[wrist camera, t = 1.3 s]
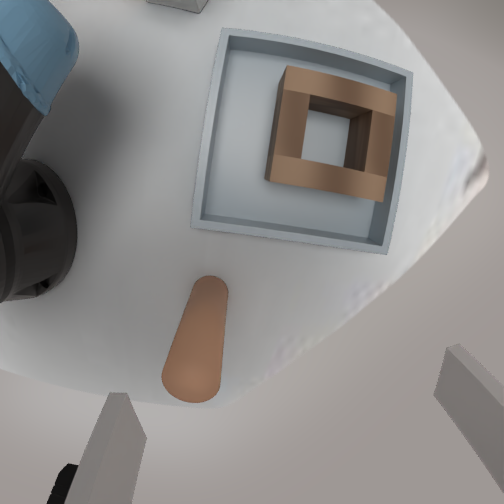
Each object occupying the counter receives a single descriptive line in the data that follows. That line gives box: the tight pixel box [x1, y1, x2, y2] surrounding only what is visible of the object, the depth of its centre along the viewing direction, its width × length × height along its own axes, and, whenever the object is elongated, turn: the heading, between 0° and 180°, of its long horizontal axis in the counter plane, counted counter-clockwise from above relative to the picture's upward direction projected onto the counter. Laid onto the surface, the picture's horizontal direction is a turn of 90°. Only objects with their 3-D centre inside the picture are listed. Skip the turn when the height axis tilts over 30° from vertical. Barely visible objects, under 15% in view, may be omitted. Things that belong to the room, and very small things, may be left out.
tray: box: [190, 28, 413, 255], centre depth 25 cm, size 17×17×4 cm
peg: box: [162, 276, 228, 403], centre depth 24 cm, size 4×4×14 cm
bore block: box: [264, 65, 397, 202], centre depth 24 cm, size 9×9×5 cm
